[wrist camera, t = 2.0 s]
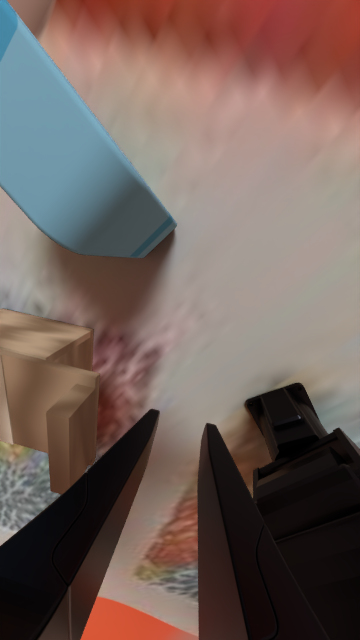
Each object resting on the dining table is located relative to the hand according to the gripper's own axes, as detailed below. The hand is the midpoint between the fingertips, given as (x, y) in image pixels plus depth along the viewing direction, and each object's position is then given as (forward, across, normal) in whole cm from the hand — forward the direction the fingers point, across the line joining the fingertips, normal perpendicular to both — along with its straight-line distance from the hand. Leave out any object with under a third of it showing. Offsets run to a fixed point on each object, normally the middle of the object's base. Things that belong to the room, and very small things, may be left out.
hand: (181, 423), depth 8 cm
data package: (+13, +10, -12) cm, 20 cm away
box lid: (+6, +13, +8) cm, 16 cm away
